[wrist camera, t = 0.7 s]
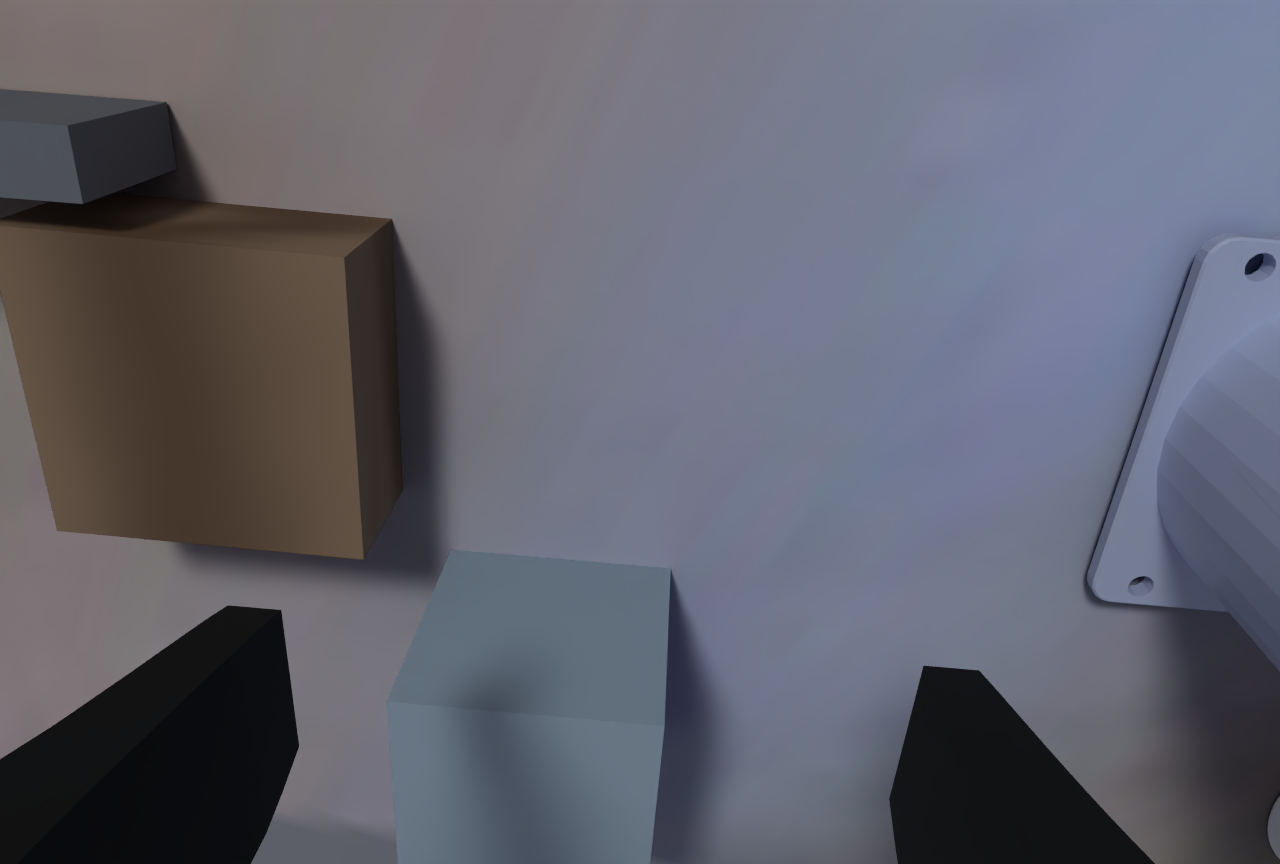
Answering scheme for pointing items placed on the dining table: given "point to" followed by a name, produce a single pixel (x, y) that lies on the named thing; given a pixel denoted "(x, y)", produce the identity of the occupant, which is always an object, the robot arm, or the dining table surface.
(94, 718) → the robot arm
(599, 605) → the blue-grey cube
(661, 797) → the dining table surface
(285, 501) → the walnut block
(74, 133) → the corner jig
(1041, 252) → the dining table surface
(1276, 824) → the chess piece
